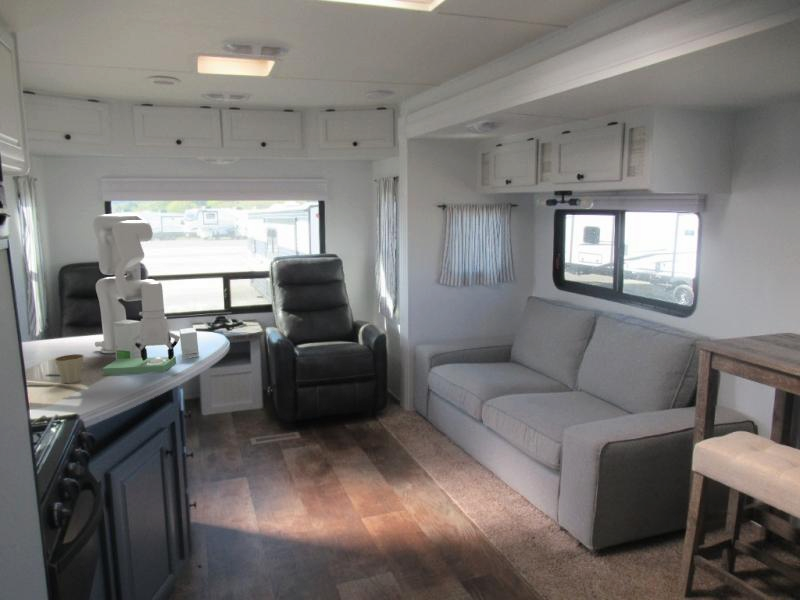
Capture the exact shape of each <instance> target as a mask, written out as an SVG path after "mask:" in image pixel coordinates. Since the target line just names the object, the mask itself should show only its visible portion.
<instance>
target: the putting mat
mask: <svg viewBox="0 0 800 600" xmlns="http://www.w3.org/2000/svg"><path fill="white" fill-rule="evenodd" d="M155 358H158V357H147V359H146V360H144V361H143V360H142V358H129V359H117V360H116V359H115V360H114V361H112V362H111V363H109V364H107V365H105V366H104V367H103V368H102V375H103V376H105V375H130V373H136V374H148V373H147V372H161V373H165V372H167V371H168V370H169V369H171V368H172V367H173V366H172V365H173V364H174V365H175V364H176V363H177V360H176V356H174V357H173V358H172V359H171V360H169V359H168V356H163V357H161V356H160V357H159V358H162V359H163V360H164V362H161V363H156V364H153V360H154V359H155ZM168 368H169V369H168ZM167 369H168V370H167Z"/></svg>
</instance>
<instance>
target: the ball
mask: <svg viewBox="0 0 800 600" xmlns="http://www.w3.org/2000/svg"><path fill="white" fill-rule="evenodd" d="M154 358H155V359H154V360H153V364H156V363H161V362H164V360H163V359H162V358H159V357H158V358H156V357H154Z"/></svg>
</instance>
